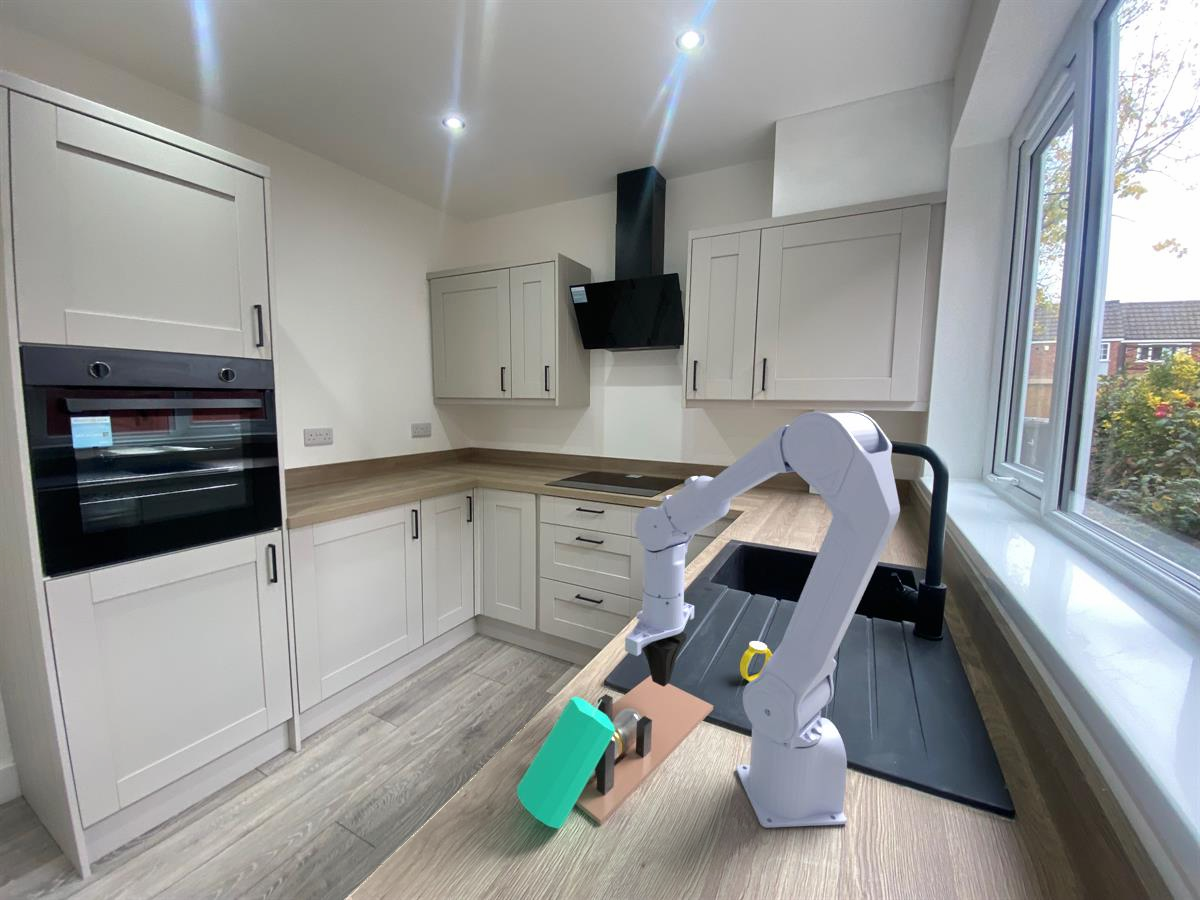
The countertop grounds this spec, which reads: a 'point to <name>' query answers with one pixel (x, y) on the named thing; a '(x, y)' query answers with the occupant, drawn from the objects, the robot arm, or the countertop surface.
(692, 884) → the countertop surface
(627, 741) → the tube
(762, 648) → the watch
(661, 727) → the plate
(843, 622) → the robot arm
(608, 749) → the black upright posts
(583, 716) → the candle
